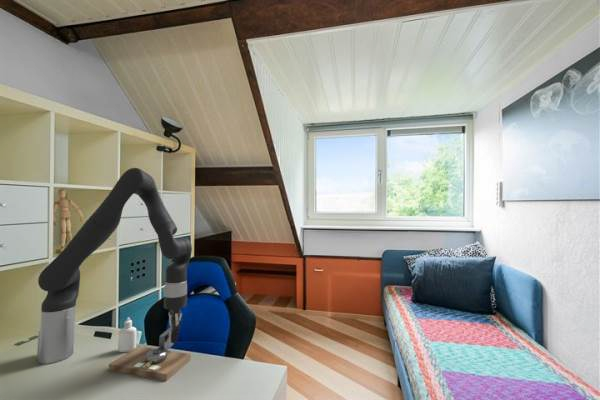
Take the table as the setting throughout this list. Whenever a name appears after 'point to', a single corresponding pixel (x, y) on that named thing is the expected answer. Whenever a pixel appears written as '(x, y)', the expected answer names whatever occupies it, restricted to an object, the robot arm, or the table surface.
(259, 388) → the table surface
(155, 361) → the lever
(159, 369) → the stand
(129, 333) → the eye dropper bottle
